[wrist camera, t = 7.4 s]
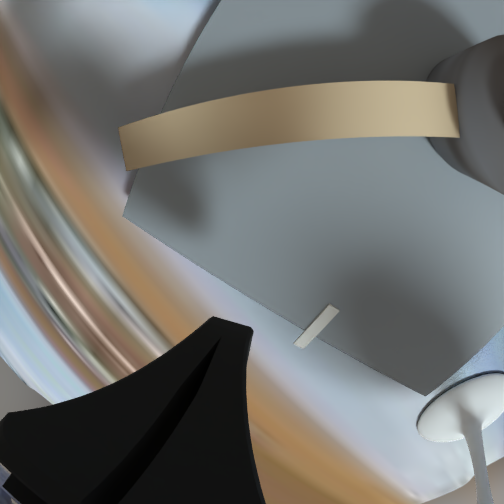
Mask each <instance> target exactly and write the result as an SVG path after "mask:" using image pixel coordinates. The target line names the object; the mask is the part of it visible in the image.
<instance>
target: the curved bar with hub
mask: <svg viewBox="0 0 504 504" xmlns="http://www.w3.org/2000/svg"><path fill="white" fill-rule="evenodd" d="M118 130H119V136H120V141H121V146H122V151H123V156H124V161H125V166H126V171H130V170H134V169H138V168H142V167H147V166H151V165H156V164H160V163H165V162H170V161H174V160H179V159H184V158H190V157H195V156H200V155H206V154H212V153H218V152H224V151H230V150H237V149H243V148H251V147H258V146H266V145H274V144H283V143H292V142H302V141H313V140H325V139H340V138H358V137H390V136H426V137H429V138H430V140H431V142H432V144H433V146H434V148H435V149H436V151H437V152H438V154H439V155H440V156H441V157H442V159H443V160H444V161H445V162H446V163H447V164H448V165H450V166H451V167H452V168H454V169H455V170H457V171H458V172H460V173H462V174H464V175H466V176H468V177H470V178H472V179H474V180H476V181H478V182H480V183H482V184H484V185H486V186H488V187H490V188H492V189H494V190H496V191H497V192H499V193H501V194H503V195H504V34H503V35H497V36H495V37H492V38H490V39H487V40H485V41H483V42H481V43H478V44H476V45H474V46H472V47H469V48H467V49H465V50H463V51H461V52H459V53H457V54H454V55H452V56H450V57H448V58H446V59H444V60H442V61H441V62H440V63H438V64H437V65H436V66H435V67H434V68H433V69H432V71H431V72H430V74H429V75H428V77H427V79H426V82H421V81H351V82H334V83H321V84H311V85H301V86H293V87H285V88H277V89H271V90H264V91H258V92H252V93H246V94H241V95H236V96H231V97H226V98H221V99H216V100H212V101H208V102H203V103H199V104H195V105H191V106H187V107H183V108H179V109H176V110H172V111H169V112H165V113H162V114H158V115H155V116H152V117H148V118H145V119H142V120H139V121H136V122H133V123H130V124H127V125H124V126H121V127H118Z"/></svg>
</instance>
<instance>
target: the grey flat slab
mask: <svg viewBox="0 0 504 504" xmlns="http://www.w3.org/2000/svg"><path fill="white" fill-rule="evenodd" d="M503 34H504V0H221V2H220V3H219V5H218V6H217V8H216V9H215V11H214V13H213V14H212V16H211V18H210V19H209V21H208V23H207V24H206V26H205V28H204V29H203V31H202V33H201V34H200V36H199V38H198V40H197V42H196V43H195V45H194V47H193V49H192V51H191V52H190V54H189V56H188V58H187V60H186V62H185V64H184V66H183V68H182V70H181V72H180V74H179V76H178V78H177V80H176V82H175V84H174V86H173V88H172V90H171V92H170V94H169V96H168V98H167V101H166V103H165V105H164V107H163V109H162V112H161V114H162V113H165V112H169V111H172V110H176V109H179V108H183V107H187V106H191V105H195V104H199V103H203V102H208V101H212V100H216V99H221V98H226V97H231V96H236V95H241V94H246V93H252V92H258V91H264V90H271V89H277V88H285V87H293V86H301V85H311V84H321V83H334V82H351V81H421V82H426V79H427V77H428V75H429V74H430V72H431V71H432V69H433V68H434V67H435V66H436V65H437V64H438V63H440V62H441V61H442V60H444V59H446V58H448V57H450V56H452V55H454V54H457V53H459V52H461V51H463V50H465V49H467V48H469V47H472V46H474V45H476V44H478V43H481V42H483V41H485V40H487V39H490V38H492V37H495V36H497V35H503ZM123 217H125V218H126V219H128V220H129V221H130V222H132V223H133V224H135V225H136V226H138V227H139V228H141V229H142V230H144V231H145V232H147V233H148V234H150V235H151V236H153V237H154V238H156V239H158V240H159V241H161V242H162V243H164V244H165V245H167V246H168V247H170V248H171V249H173V250H174V251H176V252H177V253H179V254H181V255H182V256H184V257H185V258H187V259H188V260H190V261H191V262H193V263H195V264H196V265H198V266H199V267H201V268H202V269H204V270H206V271H207V272H209V273H210V274H212V275H214V276H215V277H217V278H218V279H220V280H222V281H223V282H225V283H226V284H228V285H230V286H231V287H233V288H235V289H236V290H238V291H239V292H241V293H243V294H244V295H246V296H248V297H249V298H251V299H253V300H254V301H256V302H258V303H259V304H261V305H262V306H264V307H266V308H267V309H269V310H271V311H273V312H274V313H276V314H278V315H279V316H281V317H283V318H284V319H286V320H288V321H289V322H291V323H293V324H295V325H296V326H298V327H300V328H301V329H303V330H305V331H304V332H303V333H302V334H301V335H300V337H299V338H298V339H297V340H296V341H295V342H294V344H295V345H297V346H298V347H300V348H302V349H304V348H305V347H306V346H307V345H308V344H309V343H310V342H311V341H312V340H313V339H314V338H315V337H317V338H319V339H320V340H322V341H324V342H326V343H328V344H329V345H331V346H333V347H335V348H336V349H338V350H340V351H342V352H344V353H345V354H347V355H349V356H351V357H352V358H354V359H356V360H358V361H360V362H362V363H363V364H365V365H367V366H369V367H371V368H373V369H374V370H376V371H378V372H380V373H382V374H384V375H386V376H387V377H389V378H391V379H393V380H395V381H397V382H399V383H401V384H403V385H404V386H406V387H408V388H410V389H412V390H414V391H416V392H418V393H420V394H422V395H424V396H427V395H428V394H429V393H431V392H432V391H433V390H434V389H436V388H437V387H438V386H440V385H441V384H442V383H443V382H444V381H446V380H447V379H448V378H449V377H451V376H452V375H453V374H454V373H455V372H456V371H458V370H459V369H460V368H461V367H462V366H463V365H464V364H466V363H467V362H468V361H469V360H470V359H471V358H472V357H473V356H474V355H475V354H476V353H478V352H479V351H480V350H481V349H482V348H483V347H484V346H485V345H486V344H487V343H488V342H489V341H490V340H491V339H492V338H493V337H494V336H495V335H496V334H497V333H498V332H499V331H500V329H501V328H502V327H503V326H504V195H503V194H501V193H499V192H497V191H496V190H494V189H492V188H490V187H488V186H486V185H484V184H482V183H480V182H478V181H476V180H474V179H472V178H470V177H468V176H466V175H464V174H462V173H460V172H458V171H457V170H455V169H454V168H452V167H451V166H450V165H448V164H447V163H446V162H445V161H444V160H443V159H442V157H441V156H440V155H439V154H438V152H437V151H436V149H435V148H434V146H433V144H432V142H431V140H430V138H429V137H426V136H390V137H358V138H340V139H325V140H313V141H302V142H292V143H283V144H274V145H266V146H258V147H251V148H243V149H237V150H230V151H224V152H218V153H212V154H206V155H200V156H195V157H190V158H184V159H179V160H174V161H170V162H165V163H160V164H156V165H151V166H147V167H142V168H138V171H137V174H136V177H135V180H134V182H133V185H132V188H131V191H130V194H129V197H128V200H127V203H126V206H125V209H124V213H123Z"/></svg>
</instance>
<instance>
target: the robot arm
mask: <svg viewBox="0 0 504 504" xmlns="http://www.w3.org/2000/svg"><path fill="white" fill-rule="evenodd" d="M252 336H253V329H252V328H251V327H249V326H245V325H242V324H238V323H235V322H231V321H228V320H224V319H221V318H217V317H214V316H213V317H211V318H209V319H208V320H207V321H206V322H205V323H204V324H203V325H201V326H200V327H199V328H198V329H197V330H195V331H194V332H193V333H192V334H190V335H189V336H188V337H186V338H185V339H184V340H183V341H181V342H180V343H179V344H177V345H176V346H174V347H173V348H172V349H170V350H169V351H168V352H166V353H165V354H163V355H162V356H160V357H159V358H157V359H155V360H154V361H152V362H151V363H149V364H148V365H146V366H144V367H143V368H141V369H139V370H138V371H136V372H134V373H132V374H130V375H129V376H127V377H125V378H123V379H121V380H119V381H117V382H115V383H113V384H110V385H108V386H106V387H103V388H101V389H99V390H96V391H94V392H92V393H89V394H86V395H83V396H81V397H78V398H74V399H71V400H68V401H64V402H61V403H57V404H54V405H50V406H46V407H41V408H36V409H30V410H24V411H17V412H9V413H8V414H7V415H6V416H5V417H4V418H3V419H2V420H1V421H0V463H2V465H3V466H5V467H6V468H7V469H8V470H9V471H10V472H11V475H10V474H9V473H8V472H7V471H6V470H5V469H4V468H3V467H2V466H1V465H0V504H14V503H12V501H11V498H12V499H13V500H14V501H15V502H17V503H18V504H266V503H265V500H264V496H263V493H262V489H261V486H260V481H259V477H258V473H257V469H256V464H255V460H254V455H253V450H252V444H251V438H250V430H249V423H248V412H247V397H246V366H247V361H248V356H249V351H250V346H251V341H252Z"/></svg>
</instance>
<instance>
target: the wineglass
mask: <svg viewBox="0 0 504 504" xmlns="http://www.w3.org/2000/svg"><path fill="white" fill-rule="evenodd" d="M503 412H504V374H500V373H493V374H486V375H482V376H478V377H475V378H472V379H470V380H467V381H465V382H463V383H461V384H459V385H457V386H455V387H453V388H452V389H450V390H448V391H447V392H445V393H444V394H442V395H441V396H440V397H438V398H437V399H436V400H435V401H434V402H432V403H431V404H430V405H429V406H428V407H427V409H426V410H425V411H424V412H423V414H422V415H421V417H420V419H419V421H418V425H417V429H418V433H419V434H420V435H421V436H422V437H423V438H425V439H426V440H429V441H433V442H451V441H456V440H460V439H464V438H465V439H466V441H467V444H468V447H469V451H470V455H471V459H472V463H473V468H474V474H475V480H476V489H477V504H494V503H493V499H492V495H491V490H490V485H489V480H488V474H487V467H486V461H485V454H484V447H483V440H482V430H483V429H484V428H486V427H487V426H489V425H490V424H491V423H492V422H494V421H495V420H496V419H497V418H498V417H499V416H500V415H501V414H502V413H503Z"/></svg>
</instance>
